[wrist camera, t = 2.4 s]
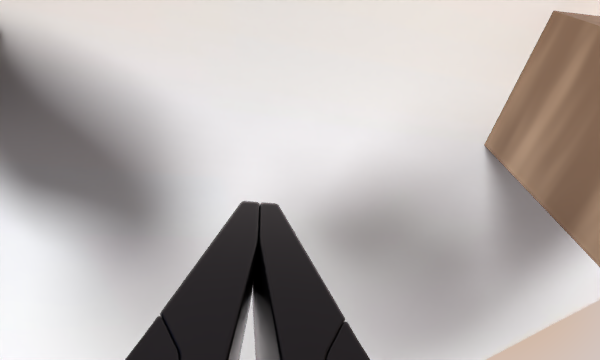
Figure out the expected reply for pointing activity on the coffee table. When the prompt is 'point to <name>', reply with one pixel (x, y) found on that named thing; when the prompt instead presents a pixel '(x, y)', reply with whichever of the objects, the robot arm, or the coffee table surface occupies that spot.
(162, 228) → the coffee table surface
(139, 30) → the coffee table surface
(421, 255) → the coffee table surface
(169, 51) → the coffee table surface
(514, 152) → the walnut card box
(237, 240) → the robot arm
